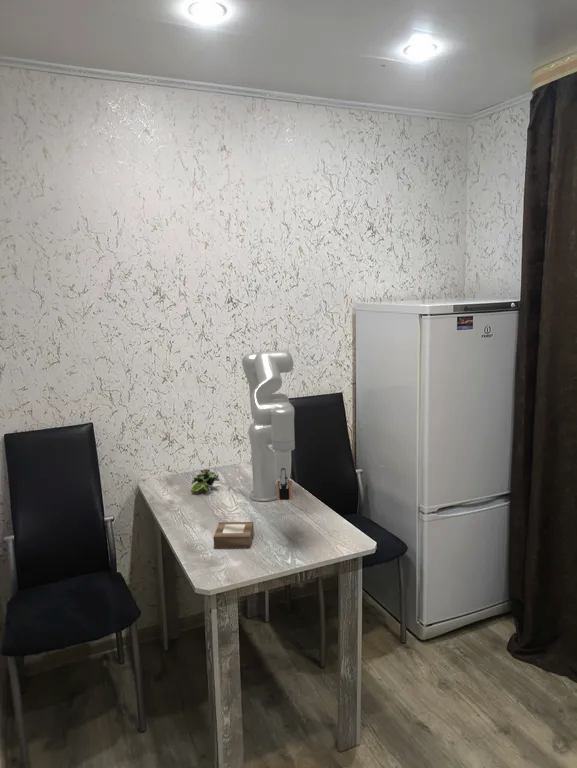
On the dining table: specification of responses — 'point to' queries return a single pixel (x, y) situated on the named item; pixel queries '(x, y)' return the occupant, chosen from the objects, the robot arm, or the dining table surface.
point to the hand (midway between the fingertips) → (284, 495)
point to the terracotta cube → (288, 487)
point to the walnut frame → (233, 535)
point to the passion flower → (204, 480)
